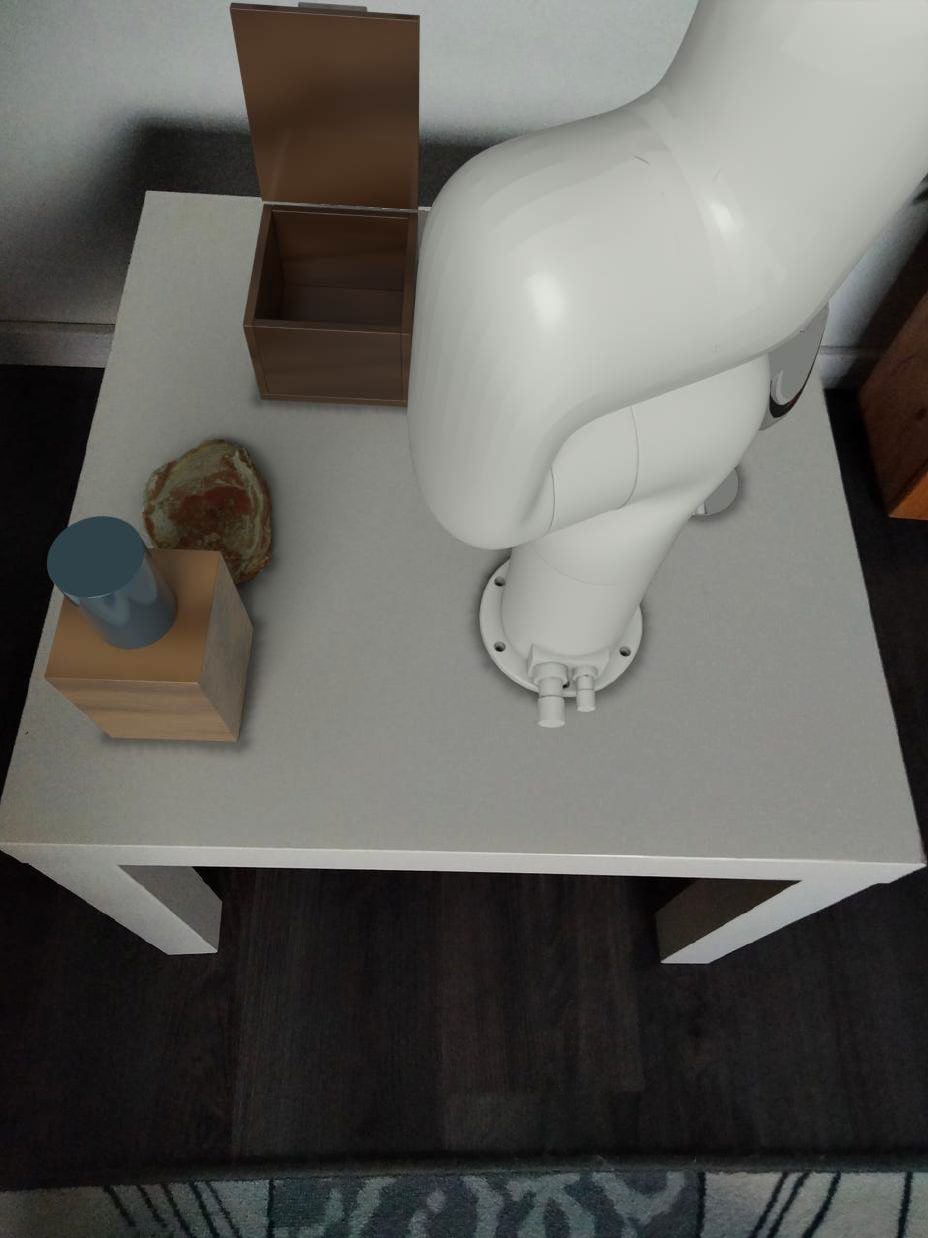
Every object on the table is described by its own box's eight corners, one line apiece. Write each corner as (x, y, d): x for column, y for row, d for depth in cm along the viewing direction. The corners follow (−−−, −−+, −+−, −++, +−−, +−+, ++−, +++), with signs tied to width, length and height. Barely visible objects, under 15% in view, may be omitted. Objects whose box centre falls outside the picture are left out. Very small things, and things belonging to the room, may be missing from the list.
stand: (238, 742, 60) (198, 683, 49) (110, 737, 60) (43, 678, 49) (253, 628, 64) (220, 550, 53) (134, 623, 64) (76, 544, 53)
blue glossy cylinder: (170, 651, 50) (134, 599, 44) (85, 648, 50) (37, 595, 44) (183, 577, 52) (151, 517, 46) (101, 573, 52) (58, 513, 46)
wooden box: (411, 407, 74) (411, 334, 66) (261, 399, 73) (242, 325, 65) (418, 291, 79) (418, 212, 71) (278, 284, 79) (263, 203, 71)
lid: (419, 20, 58) (422, -17, 61) (229, 7, 58) (240, -30, 60) (418, 210, 71) (420, 173, 73) (261, 201, 70) (269, 164, 73)
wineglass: (736, 526, 70) (847, 358, 52) (643, 508, 70) (722, 334, 52) (741, 451, 73) (848, 269, 55) (653, 434, 74) (730, 247, 56)
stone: (125, 488, 69) (112, 466, 66) (237, 438, 71) (229, 415, 68) (191, 616, 64) (179, 598, 61) (309, 558, 67) (303, 539, 64)
